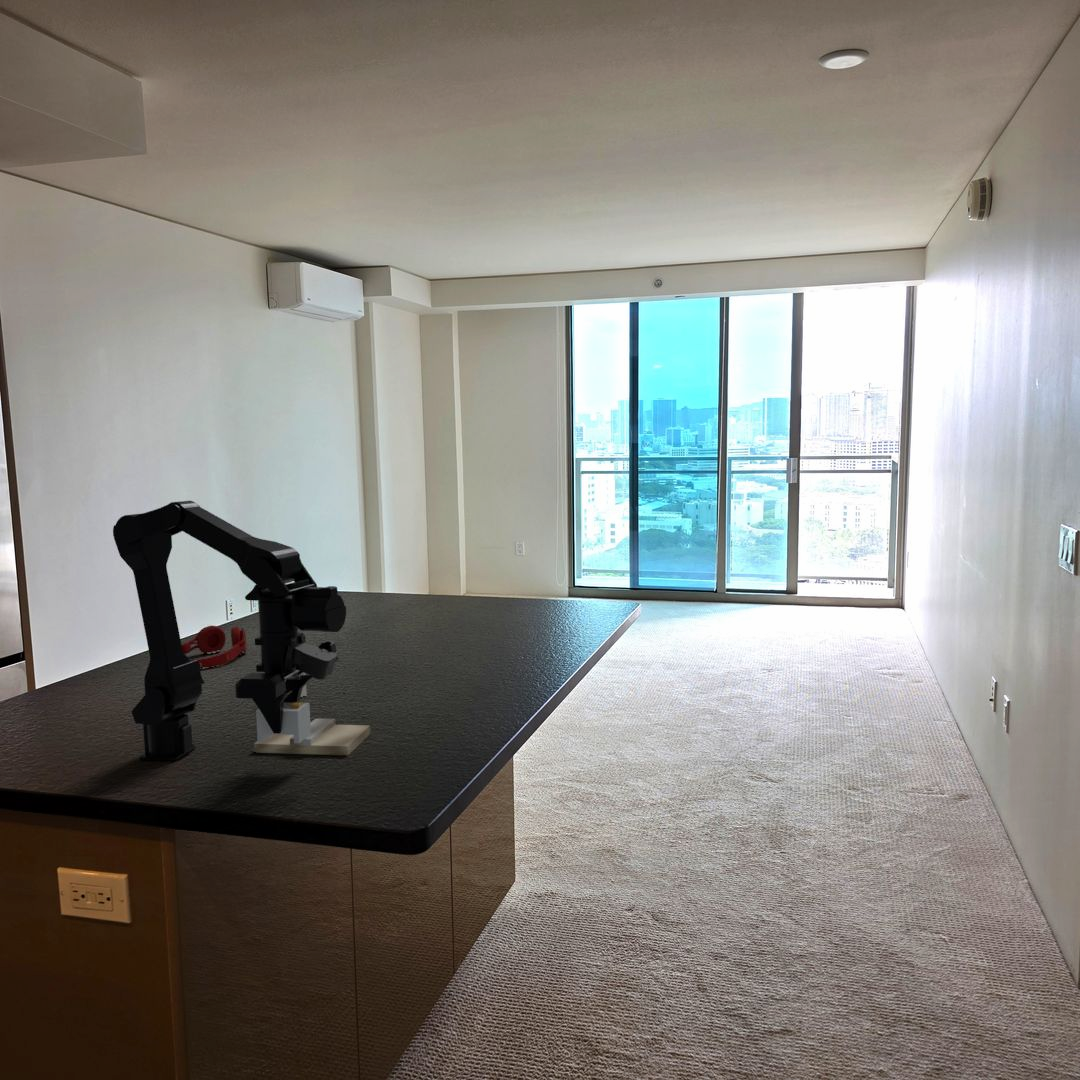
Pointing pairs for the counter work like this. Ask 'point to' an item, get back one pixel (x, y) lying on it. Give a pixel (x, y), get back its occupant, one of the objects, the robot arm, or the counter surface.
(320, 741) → the board
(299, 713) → the block
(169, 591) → the robot arm
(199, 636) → the headphones
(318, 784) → the counter surface
